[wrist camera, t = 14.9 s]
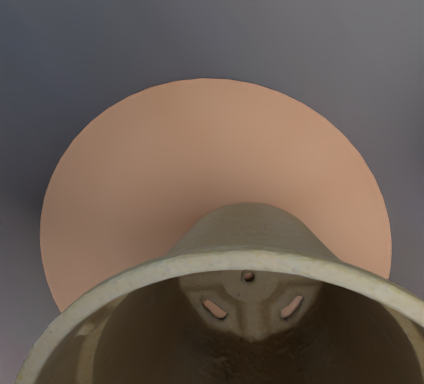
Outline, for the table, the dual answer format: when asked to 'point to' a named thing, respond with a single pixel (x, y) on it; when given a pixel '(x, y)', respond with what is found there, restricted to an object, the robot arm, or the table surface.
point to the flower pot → (236, 315)
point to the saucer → (202, 181)
